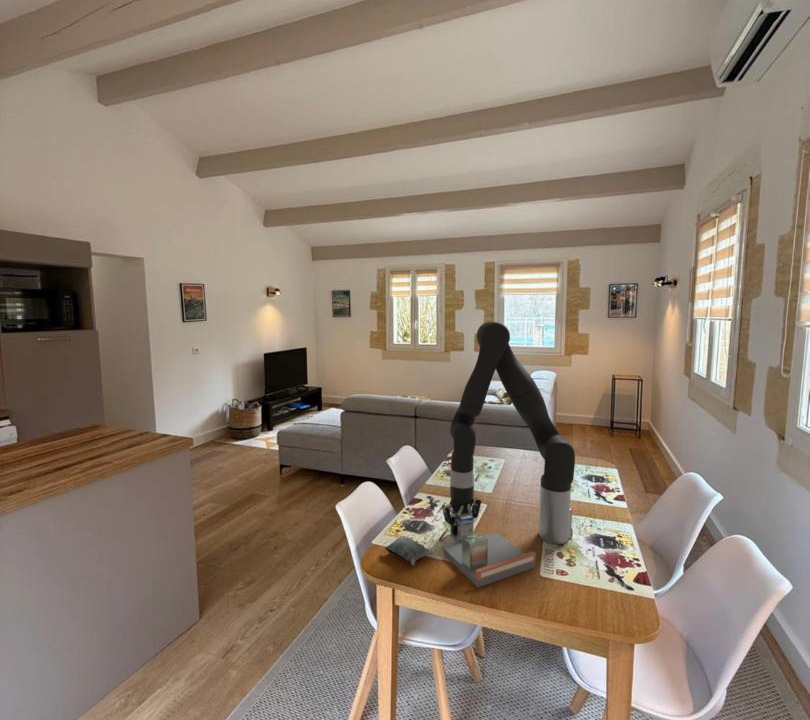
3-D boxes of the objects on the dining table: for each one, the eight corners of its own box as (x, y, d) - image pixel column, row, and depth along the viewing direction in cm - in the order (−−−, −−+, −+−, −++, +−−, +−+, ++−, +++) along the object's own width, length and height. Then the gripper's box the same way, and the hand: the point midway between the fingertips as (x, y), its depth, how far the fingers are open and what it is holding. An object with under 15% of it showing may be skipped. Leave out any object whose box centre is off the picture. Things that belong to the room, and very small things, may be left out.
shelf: (496, 537, 142) (496, 525, 141) (535, 567, 126) (535, 553, 125) (443, 553, 133) (443, 540, 133) (478, 587, 117) (478, 572, 117)
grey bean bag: (404, 543, 139) (404, 529, 139) (432, 559, 131) (432, 543, 130) (384, 555, 133) (384, 539, 133) (411, 571, 125) (411, 555, 124)
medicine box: (450, 533, 145) (450, 508, 144) (462, 530, 147) (462, 506, 145) (461, 545, 138) (461, 519, 137) (473, 542, 139) (474, 517, 138)
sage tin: (479, 557, 127) (479, 532, 126) (487, 565, 124) (488, 539, 123) (461, 563, 125) (462, 537, 124) (470, 571, 121) (470, 544, 120)
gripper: (473, 474, 146) (473, 522, 148) (436, 482, 140) (436, 532, 142) (487, 482, 139) (486, 532, 142) (449, 491, 133) (448, 543, 135)
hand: (461, 532), depth 142 cm, fingers closed on medicine box, 4 cm apart
